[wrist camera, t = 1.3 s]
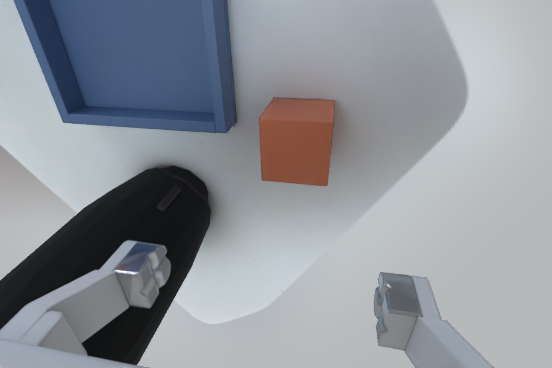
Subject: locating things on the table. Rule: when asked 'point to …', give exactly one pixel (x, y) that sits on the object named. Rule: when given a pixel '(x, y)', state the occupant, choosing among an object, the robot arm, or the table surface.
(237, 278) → the table surface
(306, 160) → the terracotta block
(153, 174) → the portable speaker
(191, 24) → the blue tray
